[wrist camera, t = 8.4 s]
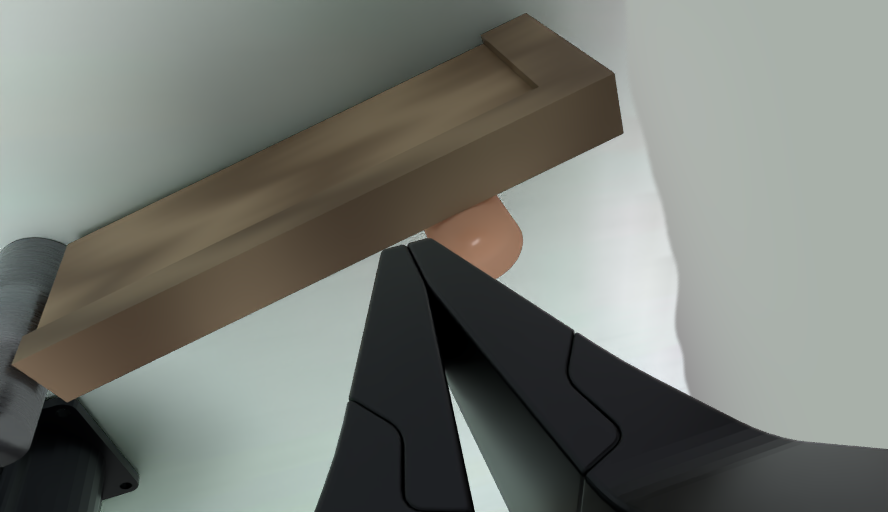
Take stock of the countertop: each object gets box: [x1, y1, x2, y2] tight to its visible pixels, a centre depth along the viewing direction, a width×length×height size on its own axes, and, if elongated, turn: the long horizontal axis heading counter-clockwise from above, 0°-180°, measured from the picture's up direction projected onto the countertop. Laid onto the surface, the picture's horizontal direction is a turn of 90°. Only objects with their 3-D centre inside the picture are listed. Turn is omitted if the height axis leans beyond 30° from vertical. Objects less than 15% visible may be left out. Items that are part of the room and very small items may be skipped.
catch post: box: [424, 195, 523, 279], centre depth 18 cm, size 2×2×6 cm
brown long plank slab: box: [12, 13, 623, 402], centre depth 17 cm, size 16×2×6 cm, turn 111°
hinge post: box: [0, 238, 67, 468], centre depth 17 cm, size 2×2×7 cm
